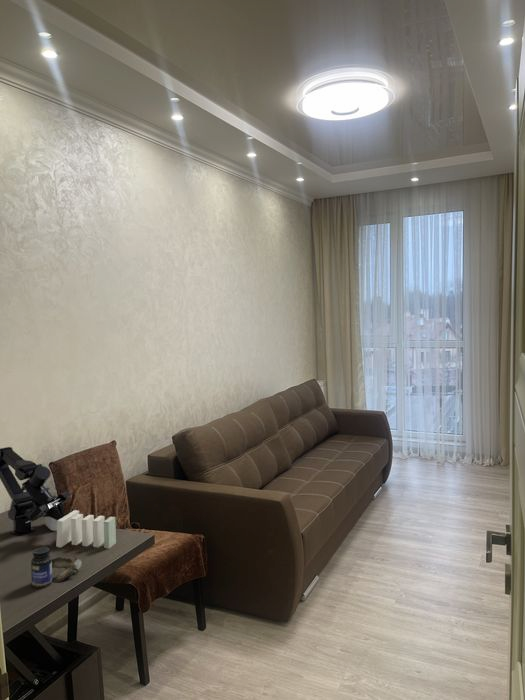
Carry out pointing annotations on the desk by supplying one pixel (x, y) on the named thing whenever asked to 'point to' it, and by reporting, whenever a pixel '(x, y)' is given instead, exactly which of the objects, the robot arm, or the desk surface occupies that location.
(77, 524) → the domino
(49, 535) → the desk surface
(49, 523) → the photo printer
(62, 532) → the domino
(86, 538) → the domino
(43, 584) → the pill bottle
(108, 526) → the domino
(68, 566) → the eagle figurine
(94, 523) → the domino
